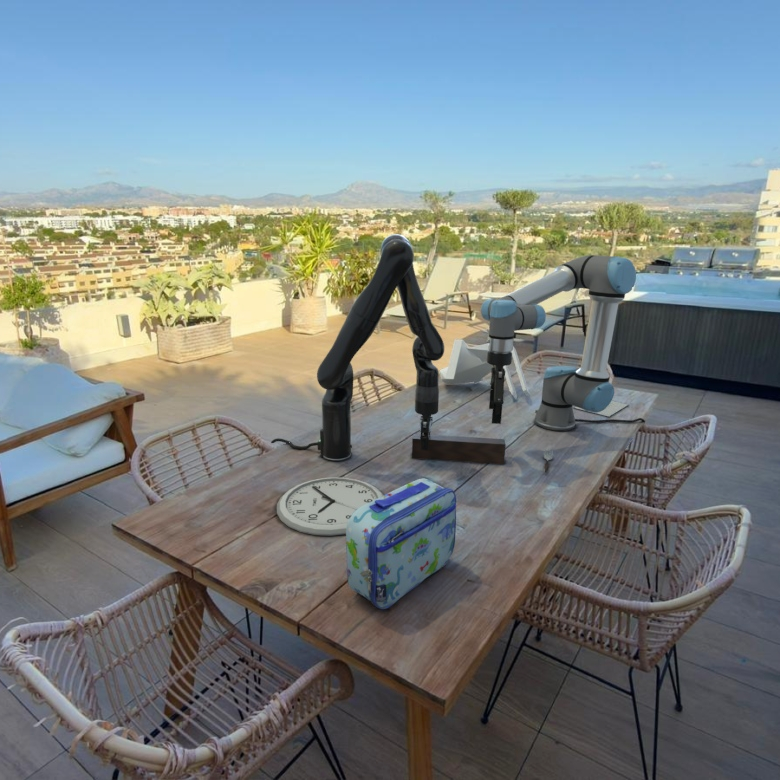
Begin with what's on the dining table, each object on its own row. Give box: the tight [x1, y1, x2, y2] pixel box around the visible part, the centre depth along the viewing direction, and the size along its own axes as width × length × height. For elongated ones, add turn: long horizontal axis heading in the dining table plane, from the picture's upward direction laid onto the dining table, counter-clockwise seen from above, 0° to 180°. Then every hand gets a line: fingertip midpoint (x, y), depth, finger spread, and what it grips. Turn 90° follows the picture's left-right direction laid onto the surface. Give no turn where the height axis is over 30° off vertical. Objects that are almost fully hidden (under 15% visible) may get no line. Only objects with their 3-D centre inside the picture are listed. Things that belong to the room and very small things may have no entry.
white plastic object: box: [438, 338, 531, 400], centre depth 245 cm, size 37×45×31 cm
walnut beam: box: [411, 433, 507, 465], centre depth 172 cm, size 30×4×7 cm, turn 83°
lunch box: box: [345, 477, 457, 610], centre depth 110 cm, size 26×11×21 cm, turn 134°
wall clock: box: [276, 476, 385, 537], centre depth 142 cm, size 30×2×30 cm
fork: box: [543, 448, 554, 473], centre depth 170 cm, size 3×16×2 cm, turn 160°
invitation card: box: [573, 400, 629, 418], centre depth 226 cm, size 21×1×15 cm
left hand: (425, 444), depth 172 cm, fingers open, 8 cm apart
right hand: (494, 415), depth 167 cm, fingers open, 13 cm apart
